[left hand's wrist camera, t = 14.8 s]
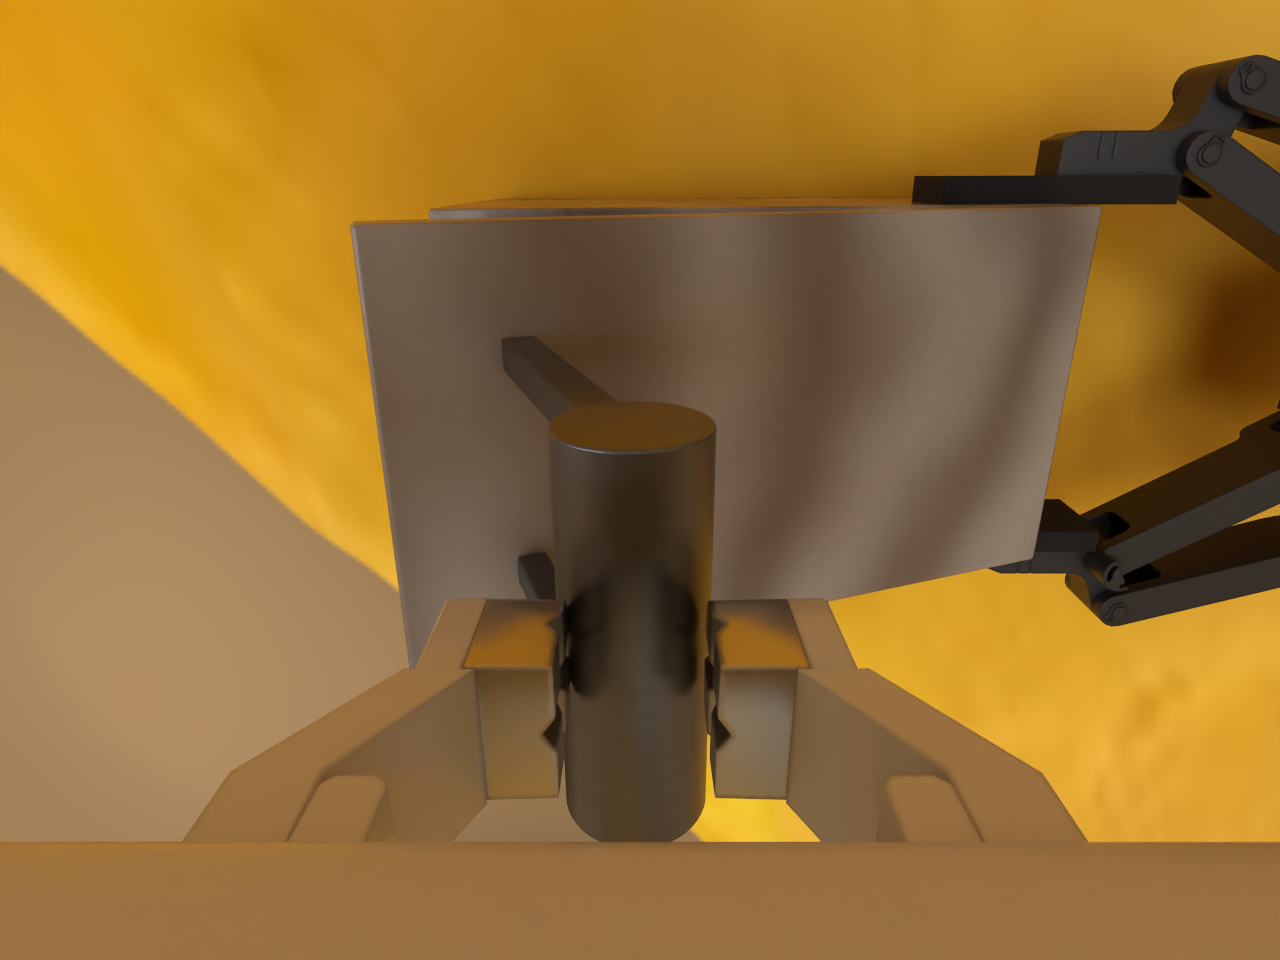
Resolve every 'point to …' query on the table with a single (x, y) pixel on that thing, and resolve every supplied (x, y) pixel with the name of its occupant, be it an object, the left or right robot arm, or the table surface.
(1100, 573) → the right robot arm
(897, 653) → the table surface
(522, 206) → the chest
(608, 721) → the lid
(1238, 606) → the table surface
